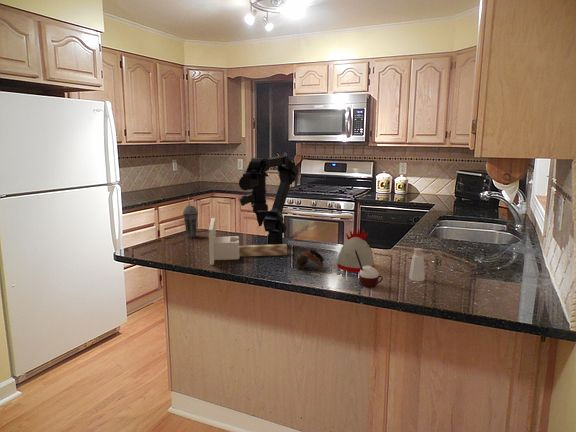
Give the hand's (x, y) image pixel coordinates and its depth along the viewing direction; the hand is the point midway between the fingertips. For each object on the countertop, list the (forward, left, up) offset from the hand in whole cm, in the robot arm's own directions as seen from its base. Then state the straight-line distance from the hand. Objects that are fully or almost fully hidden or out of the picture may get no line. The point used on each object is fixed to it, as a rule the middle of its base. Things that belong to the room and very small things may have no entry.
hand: (259, 224), depth 180 cm
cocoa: (-33, +48, -12) cm, 59 cm away
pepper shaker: (-52, +44, -12) cm, 69 cm away
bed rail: (0, +6, -12) cm, 13 cm away
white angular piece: (+14, +6, -12) cm, 19 cm away
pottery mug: (-16, +28, -12) cm, 34 cm away
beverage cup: (+32, -32, -12) cm, 47 cm away
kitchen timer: (-35, +27, -12) cm, 46 cm away
